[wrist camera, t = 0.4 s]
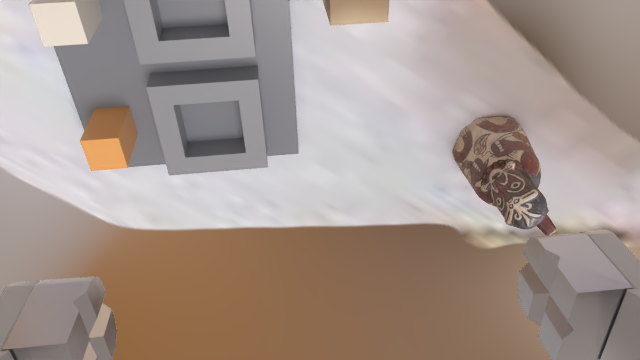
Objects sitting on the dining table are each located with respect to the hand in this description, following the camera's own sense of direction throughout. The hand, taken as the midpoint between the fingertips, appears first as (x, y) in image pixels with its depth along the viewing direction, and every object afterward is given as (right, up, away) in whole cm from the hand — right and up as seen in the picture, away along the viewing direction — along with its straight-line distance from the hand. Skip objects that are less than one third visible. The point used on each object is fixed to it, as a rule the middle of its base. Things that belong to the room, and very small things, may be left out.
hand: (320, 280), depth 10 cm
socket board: (-12, +13, +34) cm, 38 cm away
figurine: (+17, +6, +44) cm, 47 cm away
